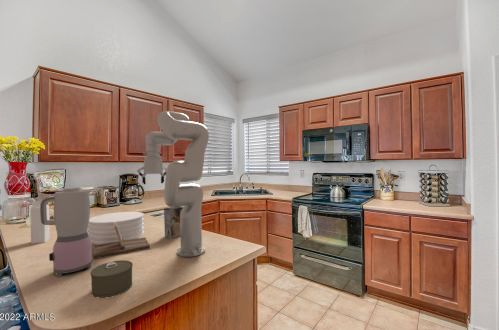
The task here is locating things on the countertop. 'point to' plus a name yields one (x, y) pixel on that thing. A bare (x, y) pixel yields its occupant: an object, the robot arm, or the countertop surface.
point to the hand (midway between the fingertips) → (153, 183)
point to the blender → (70, 230)
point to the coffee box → (172, 221)
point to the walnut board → (120, 247)
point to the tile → (118, 234)
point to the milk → (38, 224)
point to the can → (111, 278)
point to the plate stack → (105, 231)
